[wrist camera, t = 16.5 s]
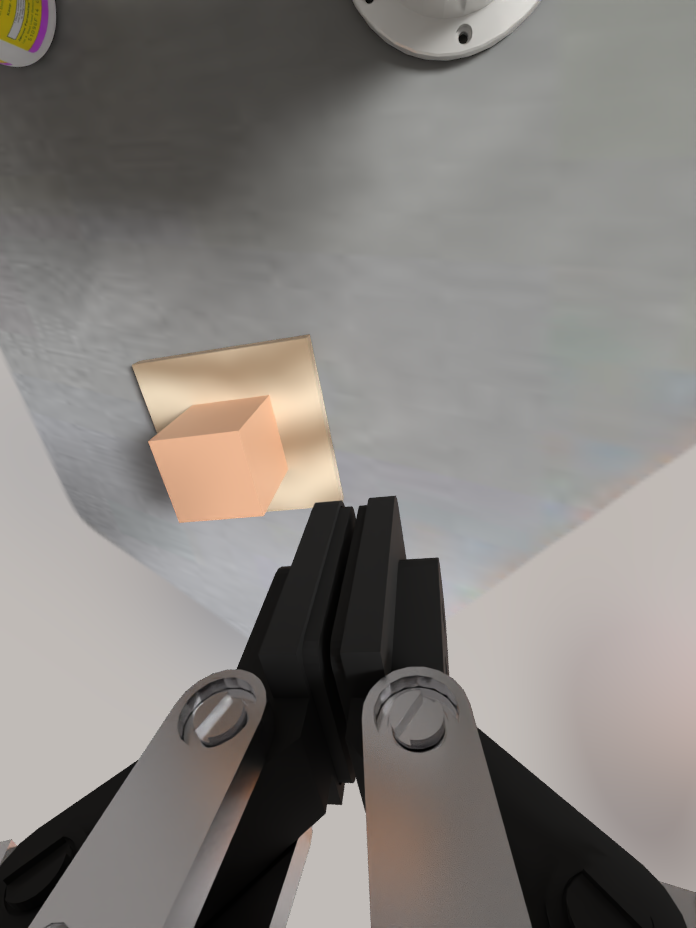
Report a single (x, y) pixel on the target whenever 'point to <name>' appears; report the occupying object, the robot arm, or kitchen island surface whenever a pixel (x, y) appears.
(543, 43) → the kitchen island surface
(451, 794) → the robot arm
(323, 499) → the birch board
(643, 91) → the kitchen island surface
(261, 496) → the peach tan cube
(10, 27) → the supplement bottle
